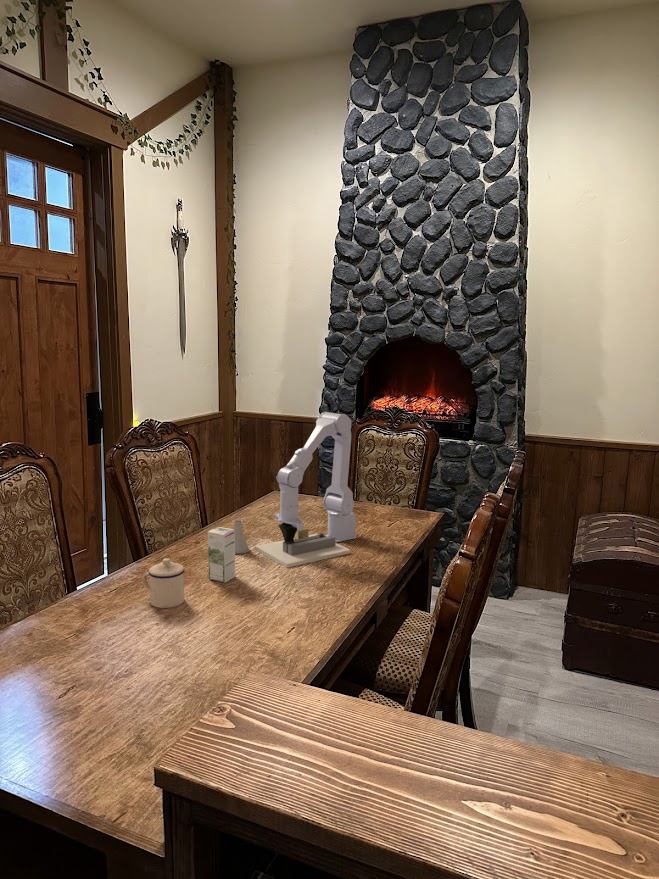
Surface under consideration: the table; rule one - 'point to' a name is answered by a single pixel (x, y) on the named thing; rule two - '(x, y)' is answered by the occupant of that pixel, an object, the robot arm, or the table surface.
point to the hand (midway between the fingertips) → (288, 545)
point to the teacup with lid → (165, 584)
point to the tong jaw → (285, 544)
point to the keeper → (301, 533)
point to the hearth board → (299, 558)
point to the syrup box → (221, 554)
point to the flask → (239, 538)
